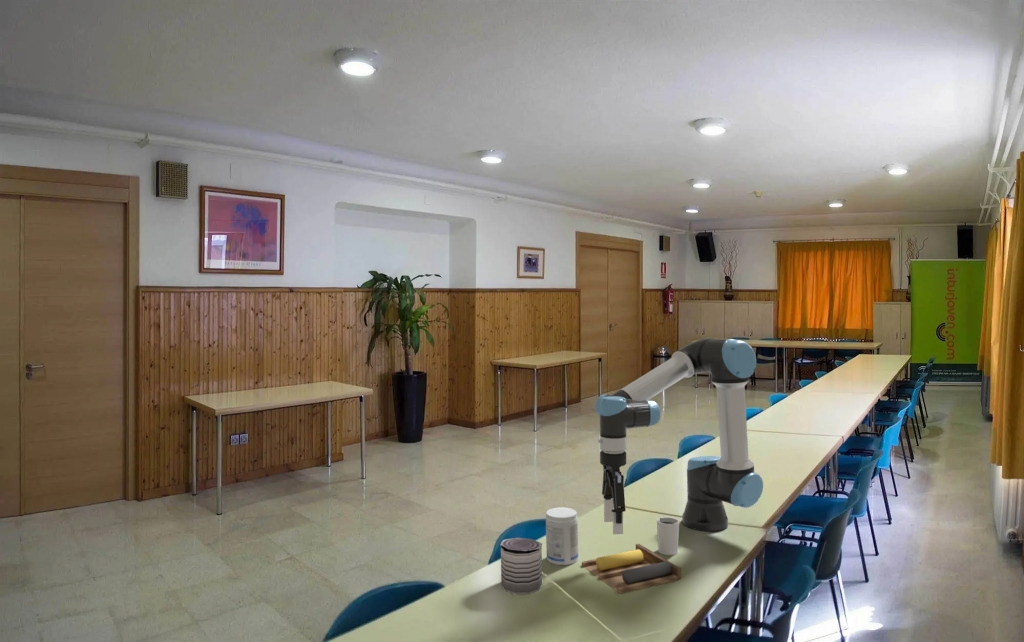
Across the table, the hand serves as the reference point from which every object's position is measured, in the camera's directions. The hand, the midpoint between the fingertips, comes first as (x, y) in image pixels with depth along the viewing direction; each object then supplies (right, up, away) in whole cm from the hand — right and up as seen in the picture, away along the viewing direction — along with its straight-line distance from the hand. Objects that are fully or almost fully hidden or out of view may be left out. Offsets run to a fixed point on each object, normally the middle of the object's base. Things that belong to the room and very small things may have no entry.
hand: (613, 527), depth 188 cm
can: (-27, -13, -9) cm, 31 cm away
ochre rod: (+3, -11, 0) cm, 11 cm away
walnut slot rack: (+4, -12, -3) cm, 13 cm away
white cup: (+19, -12, +12) cm, 25 cm away
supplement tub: (-14, -12, +7) cm, 20 cm away
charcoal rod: (+8, -12, -8) cm, 16 cm away
